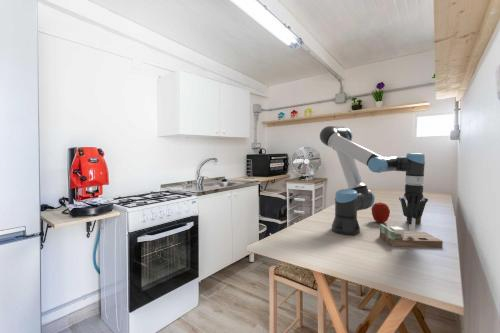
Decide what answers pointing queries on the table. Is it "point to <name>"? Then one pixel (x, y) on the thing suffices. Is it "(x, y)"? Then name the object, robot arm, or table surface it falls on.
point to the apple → (380, 212)
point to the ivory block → (398, 230)
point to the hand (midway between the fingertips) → (411, 230)
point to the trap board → (409, 238)
